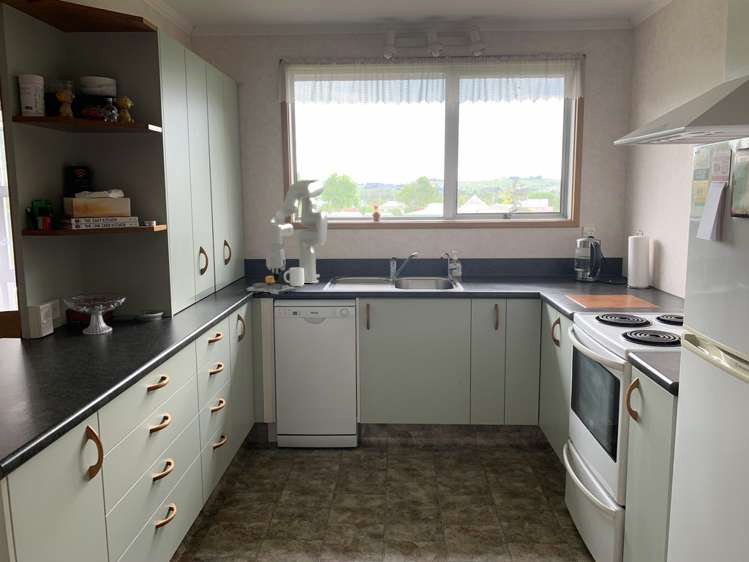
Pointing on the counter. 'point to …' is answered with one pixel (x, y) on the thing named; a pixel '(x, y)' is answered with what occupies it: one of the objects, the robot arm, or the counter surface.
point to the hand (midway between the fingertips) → (276, 280)
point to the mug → (295, 276)
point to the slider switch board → (269, 288)
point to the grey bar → (286, 291)
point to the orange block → (270, 280)
